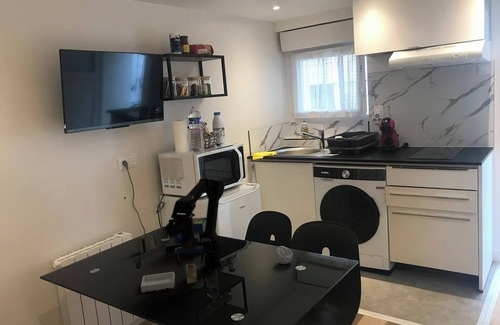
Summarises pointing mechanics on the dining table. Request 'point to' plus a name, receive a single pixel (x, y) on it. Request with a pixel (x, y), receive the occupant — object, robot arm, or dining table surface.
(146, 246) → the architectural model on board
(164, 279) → the housing tray
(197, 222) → the protein box
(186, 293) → the dining table surface
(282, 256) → the grey streaked ball
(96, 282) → the dining table surface
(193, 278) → the brown block
